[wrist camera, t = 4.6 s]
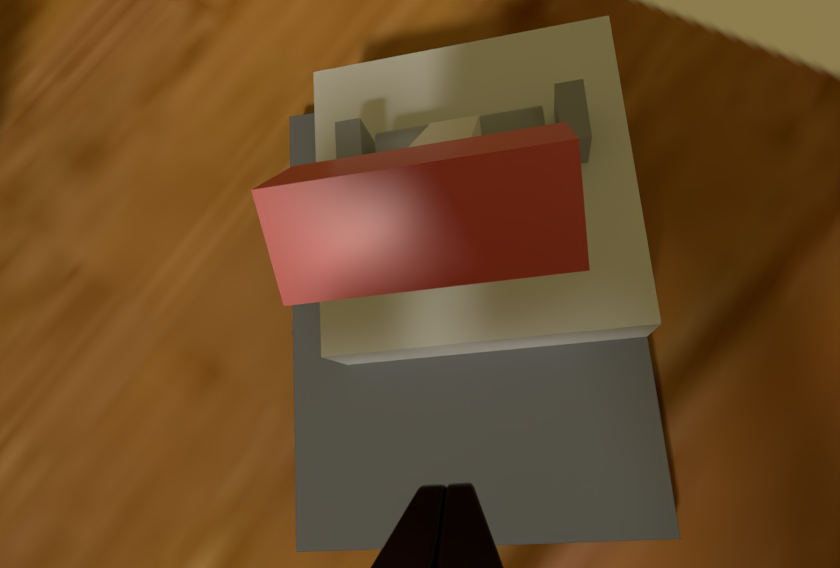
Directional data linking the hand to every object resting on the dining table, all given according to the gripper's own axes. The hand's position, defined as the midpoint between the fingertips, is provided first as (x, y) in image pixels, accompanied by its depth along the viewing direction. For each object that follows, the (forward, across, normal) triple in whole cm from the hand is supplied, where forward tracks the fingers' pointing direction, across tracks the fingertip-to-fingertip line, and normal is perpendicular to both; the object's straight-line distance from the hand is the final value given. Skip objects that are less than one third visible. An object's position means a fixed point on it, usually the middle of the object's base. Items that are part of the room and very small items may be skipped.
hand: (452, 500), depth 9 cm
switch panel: (+12, +1, +4) cm, 12 cm away
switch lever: (+11, 0, -2) cm, 12 cm away
